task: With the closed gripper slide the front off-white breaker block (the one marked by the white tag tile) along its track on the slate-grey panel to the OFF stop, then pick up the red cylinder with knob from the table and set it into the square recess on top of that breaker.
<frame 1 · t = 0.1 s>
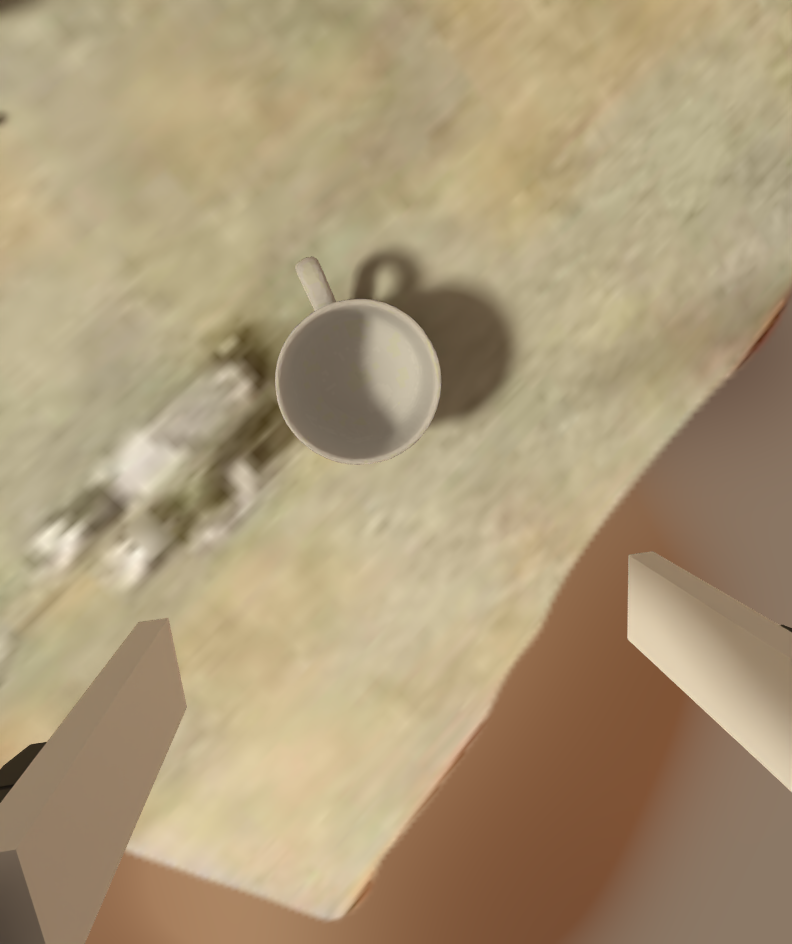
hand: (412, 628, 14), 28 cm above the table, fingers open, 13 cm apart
teacup: (350, 361, 40), on the table
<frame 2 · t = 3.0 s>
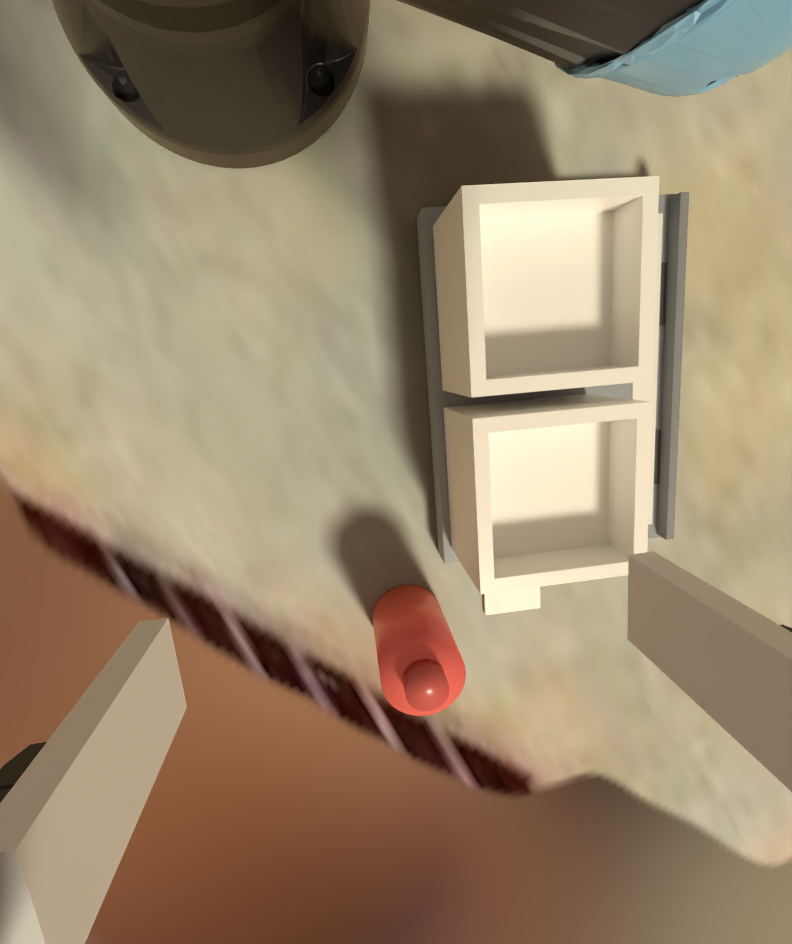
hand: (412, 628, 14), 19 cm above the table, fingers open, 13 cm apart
breaker 2: (535, 298, 26), point 5 cm above the table, slide at 0.0 cm
breaker 1: (538, 484, 28), point 5 cm above the table, slide at 0.0 cm
red cylinder with knob: (407, 616, 35), on the table
panel: (541, 386, 32), on the table
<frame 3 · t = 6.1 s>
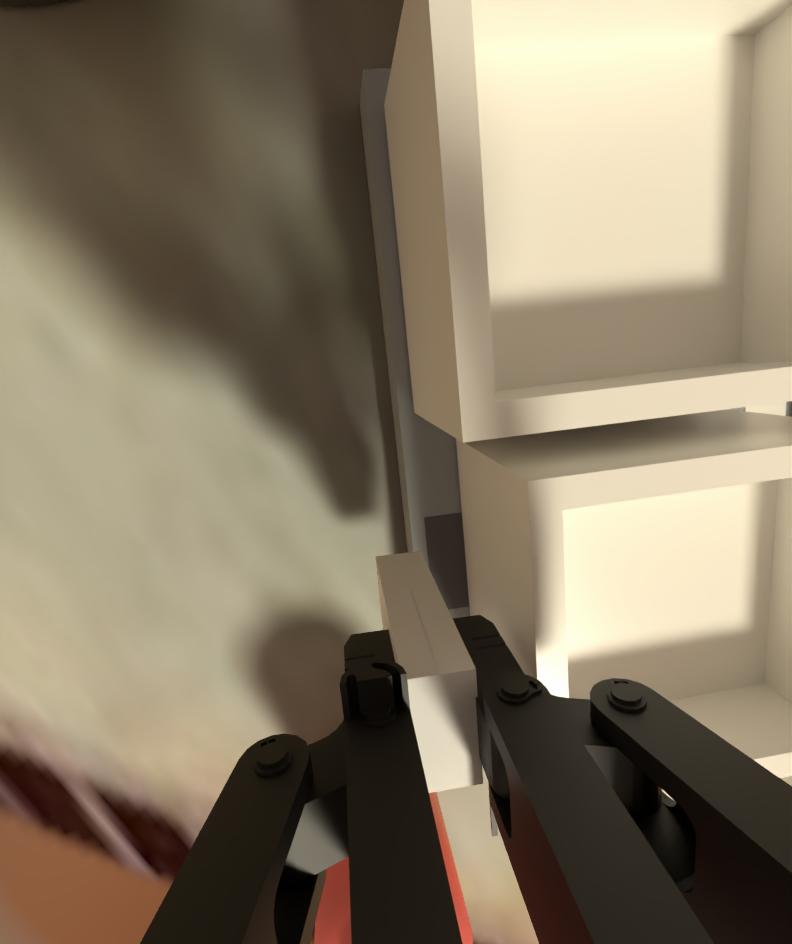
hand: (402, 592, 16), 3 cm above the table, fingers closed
breaker 2: (589, 229, 13), point 5 cm above the table, slide at 0.0 cm
breaker 1: (637, 580, 15), point 5 cm above the table, slide at 1.3 cm, touching gripper
red cylinder with knob: (373, 770, 22), on the table
panel: (585, 399, 19), on the table
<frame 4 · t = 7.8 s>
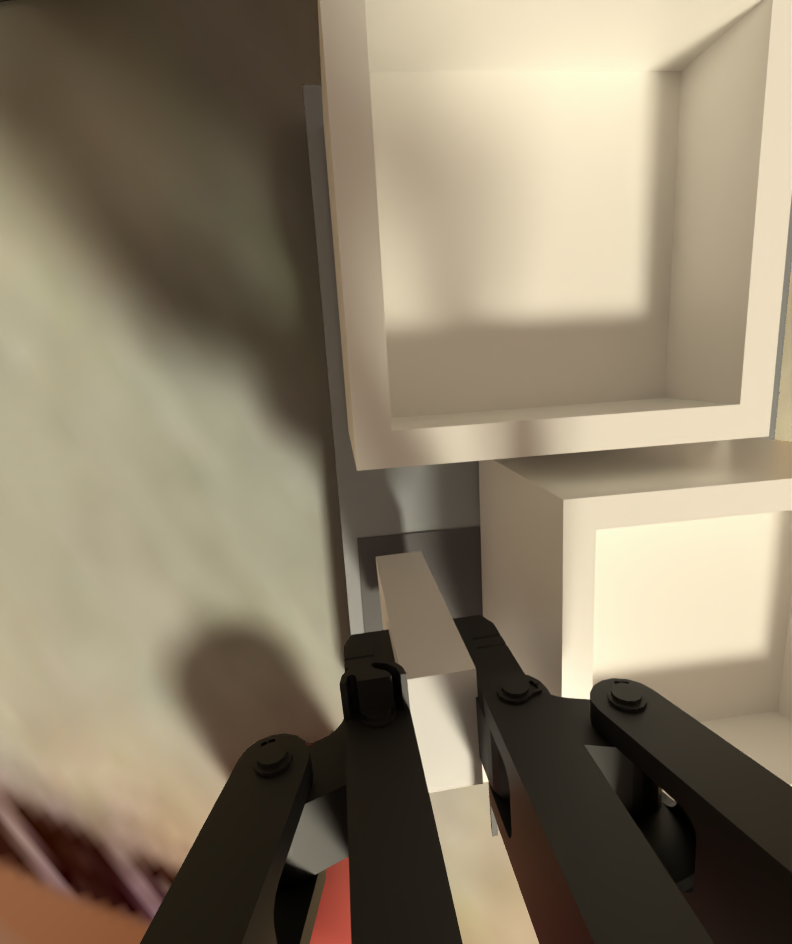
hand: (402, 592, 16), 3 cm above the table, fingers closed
breaker 2: (515, 257, 13), point 5 cm above the table, slide at 0.0 cm
breaker 1: (656, 602, 15), point 5 cm above the table, slide at 4.3 cm
red cylinder with knob: (305, 793, 21), on the table
panel: (530, 424, 19), on the table
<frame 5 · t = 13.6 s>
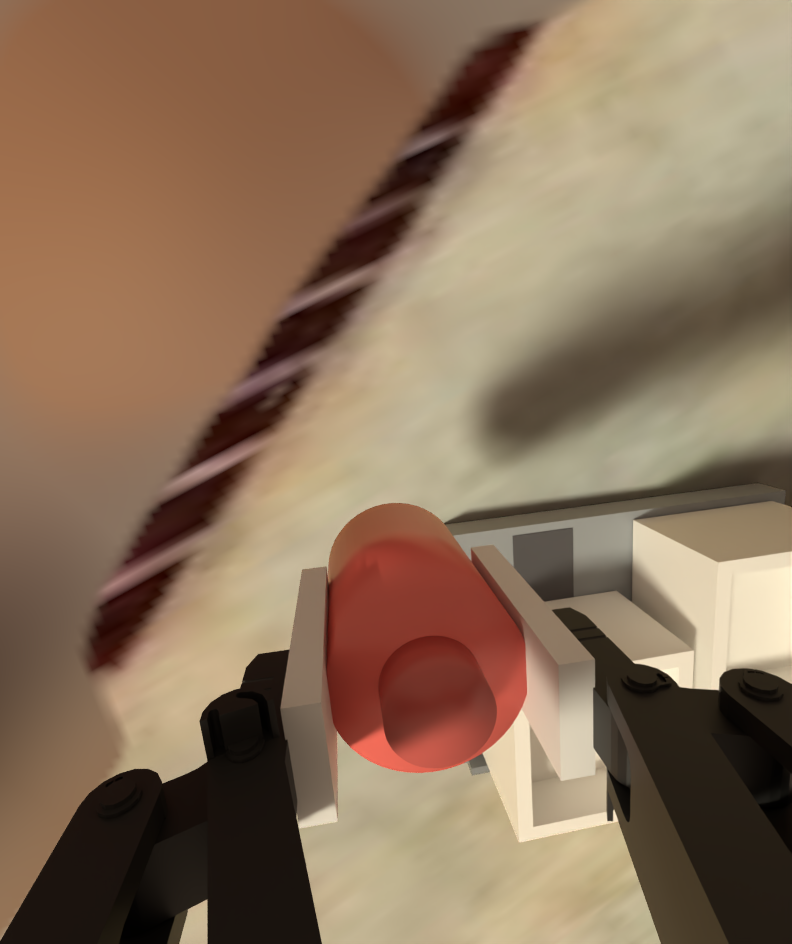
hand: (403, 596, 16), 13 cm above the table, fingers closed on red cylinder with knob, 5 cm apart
breaker 2: (743, 604, 28), point 5 cm above the table, slide at 0.0 cm
breaker 1: (572, 704, 27), point 5 cm above the table, slide at 4.3 cm
red cylinder with knob: (394, 566, 18), point 11 cm above the table, touching gripper
panel: (605, 613, 33), on the table
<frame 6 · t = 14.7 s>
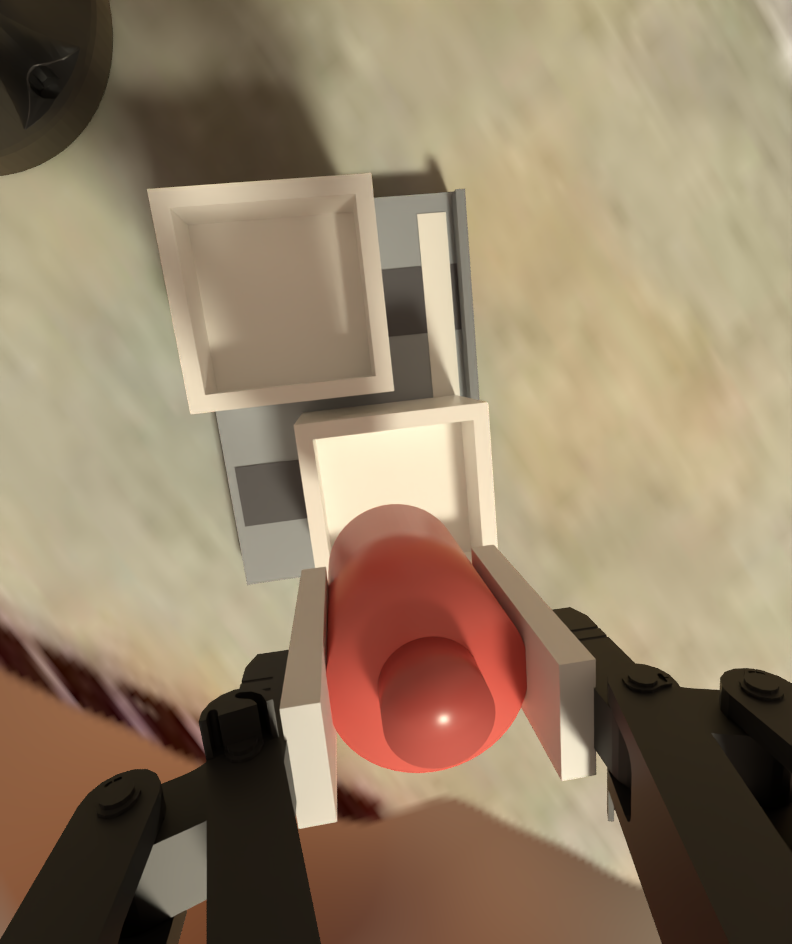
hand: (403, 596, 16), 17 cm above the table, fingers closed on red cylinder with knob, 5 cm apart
breaker 2: (285, 305, 24), point 5 cm above the table, slide at 0.0 cm
breaker 1: (394, 491, 27), point 5 cm above the table, slide at 4.3 cm
red cylinder with knob: (394, 566, 18), point 14 cm above the table, touching gripper
panel: (347, 396, 31), on the table
when the fingers open (10 cm above the table, at t = 16.3 s): red cylinder with knob drops 1 cm, resting on breaker 1.
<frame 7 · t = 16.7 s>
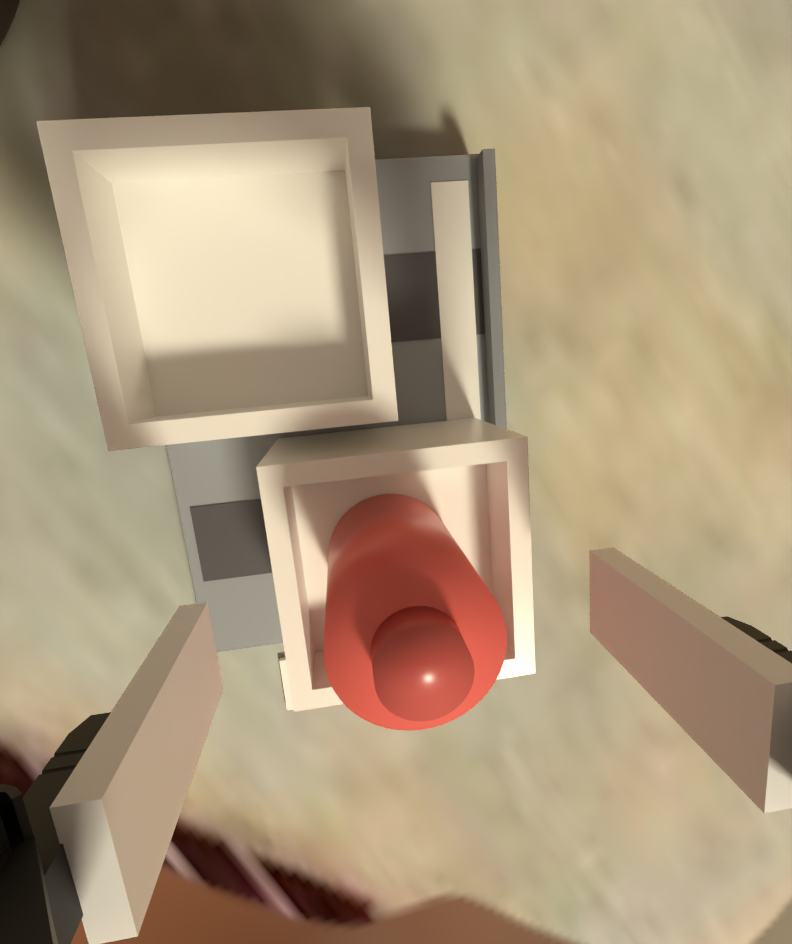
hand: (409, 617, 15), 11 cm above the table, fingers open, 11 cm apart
breaker 2: (252, 299, 18), point 5 cm above the table, slide at 0.0 cm
breaker 1: (395, 545, 21), point 5 cm above the table, slide at 4.3 cm, touching red cylinder with knob
red cylinder with knob: (389, 552, 20), point 6 cm above the table, touching breaker 1
panel: (337, 416, 24), on the table
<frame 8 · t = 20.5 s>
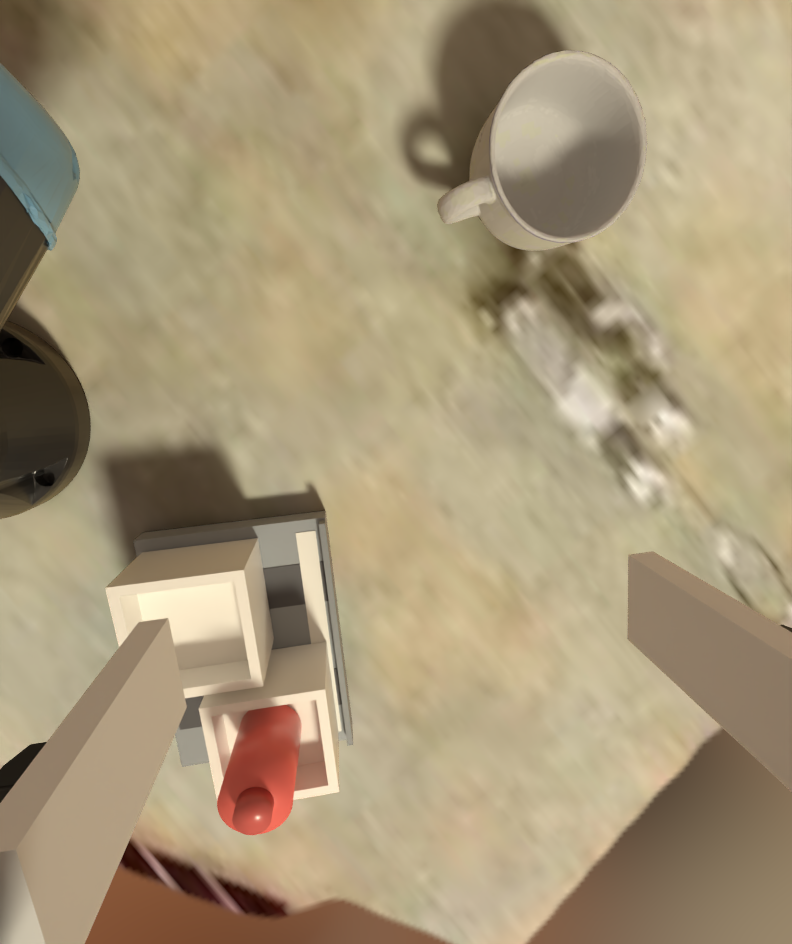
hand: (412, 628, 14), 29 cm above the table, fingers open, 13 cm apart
breaker 2: (199, 616, 38), point 5 cm above the table, slide at 0.0 cm
breaker 1: (276, 721, 40), point 5 cm above the table, slide at 4.3 cm, touching red cylinder with knob
red cylinder with knob: (271, 729, 39), point 6 cm above the table, touching breaker 1
teacup: (505, 195, 39), on the table
panel: (254, 634, 44), on the table
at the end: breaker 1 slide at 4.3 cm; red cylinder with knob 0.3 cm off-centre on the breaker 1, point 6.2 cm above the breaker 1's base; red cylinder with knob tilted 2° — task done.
